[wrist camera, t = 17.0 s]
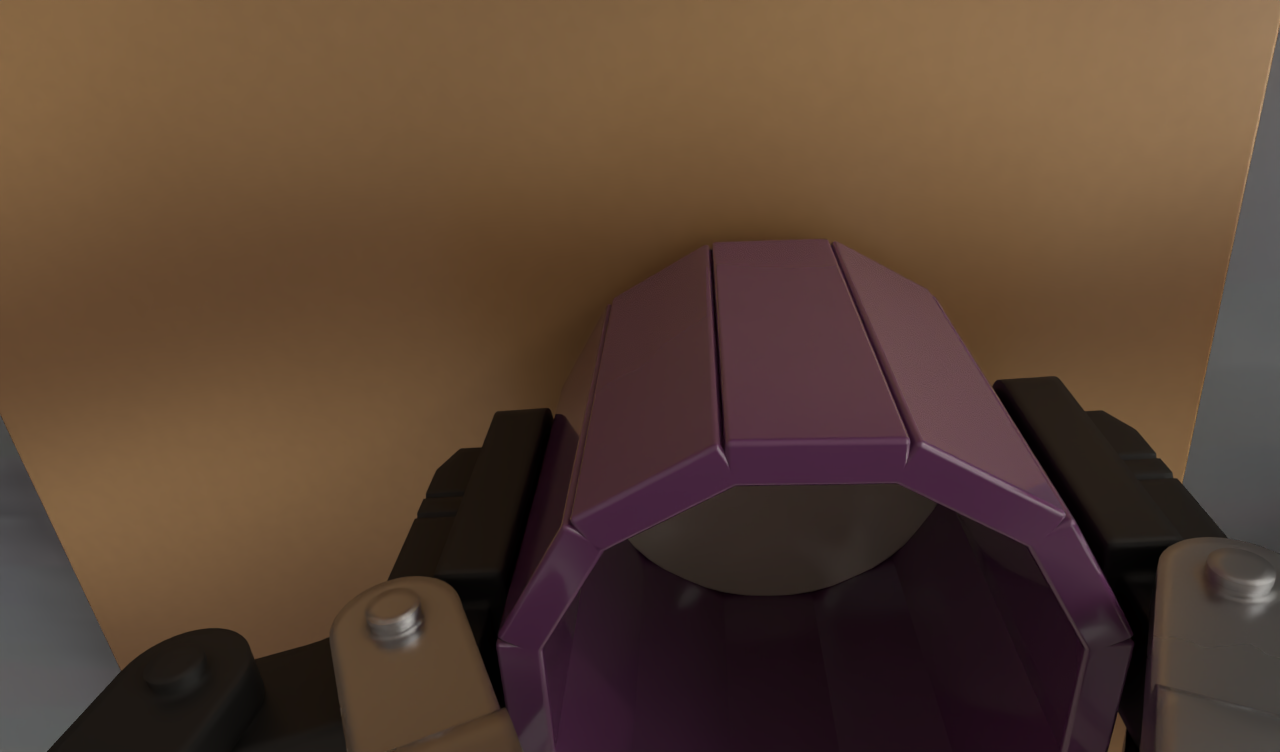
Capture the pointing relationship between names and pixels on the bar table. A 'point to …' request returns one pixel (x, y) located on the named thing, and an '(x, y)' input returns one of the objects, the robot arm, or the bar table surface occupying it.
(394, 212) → the oak board
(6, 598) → the bar table surface
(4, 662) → the bar table surface
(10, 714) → the bar table surface
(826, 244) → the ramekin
